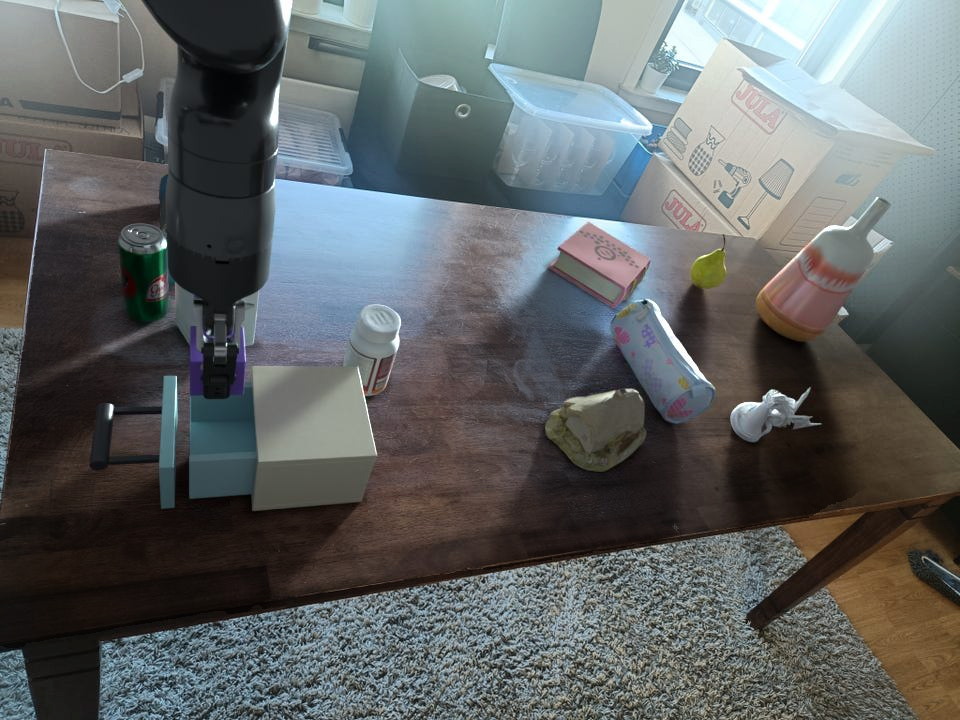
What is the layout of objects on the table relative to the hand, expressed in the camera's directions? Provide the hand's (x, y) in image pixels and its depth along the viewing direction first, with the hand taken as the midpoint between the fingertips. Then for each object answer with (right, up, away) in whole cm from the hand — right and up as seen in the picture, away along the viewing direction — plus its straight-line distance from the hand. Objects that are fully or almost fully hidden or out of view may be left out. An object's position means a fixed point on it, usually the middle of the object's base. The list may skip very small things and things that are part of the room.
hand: (216, 375), depth 59 cm
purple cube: (0, 0, 0) cm, 0 cm away
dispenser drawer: (-6, -9, +8) cm, 14 cm away
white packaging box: (-9, +5, +22) cm, 25 cm away
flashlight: (-19, +18, +32) cm, 42 cm away
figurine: (+68, -11, +42) cm, 81 cm away
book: (+47, +18, +62) cm, 80 cm away
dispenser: (+4, -10, +13) cm, 17 cm away
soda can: (-18, +7, +21) cm, 29 cm away
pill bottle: (+9, -1, +25) cm, 26 cm away
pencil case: (+52, -2, +44) cm, 68 cm away
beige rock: (+41, -10, +31) cm, 52 cm away
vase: (+87, +9, +71) cm, 113 cm away
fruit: (+70, +17, +72) cm, 102 cm away
